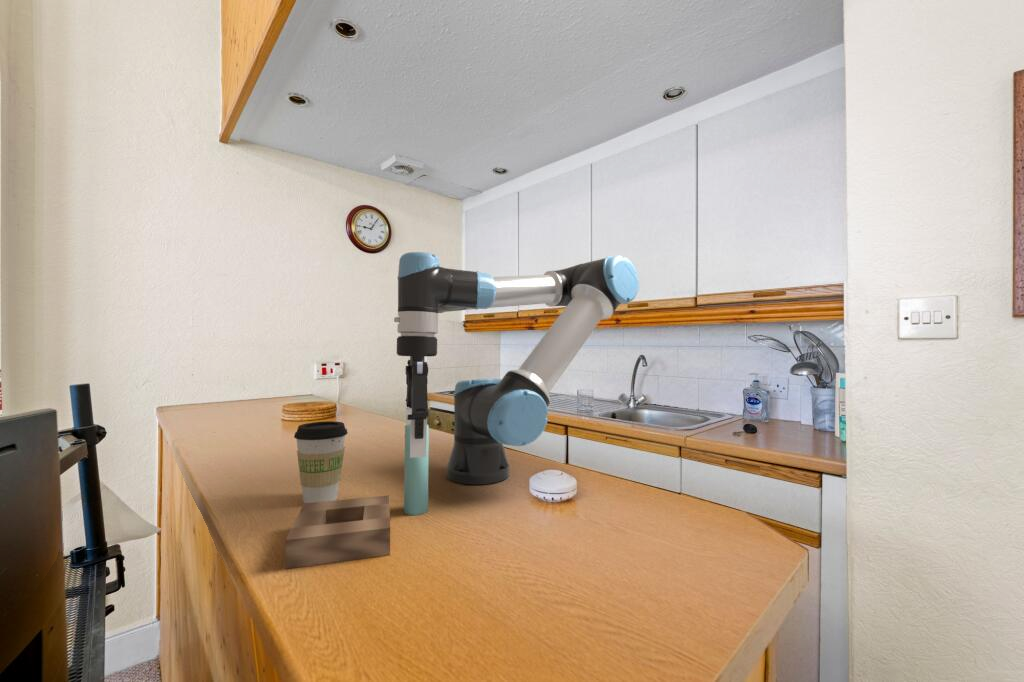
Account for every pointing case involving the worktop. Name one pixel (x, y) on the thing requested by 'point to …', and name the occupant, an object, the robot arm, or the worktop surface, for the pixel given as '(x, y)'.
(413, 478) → the peg
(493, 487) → the worktop surface
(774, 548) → the worktop surface
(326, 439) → the coffee cup
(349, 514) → the socket block
